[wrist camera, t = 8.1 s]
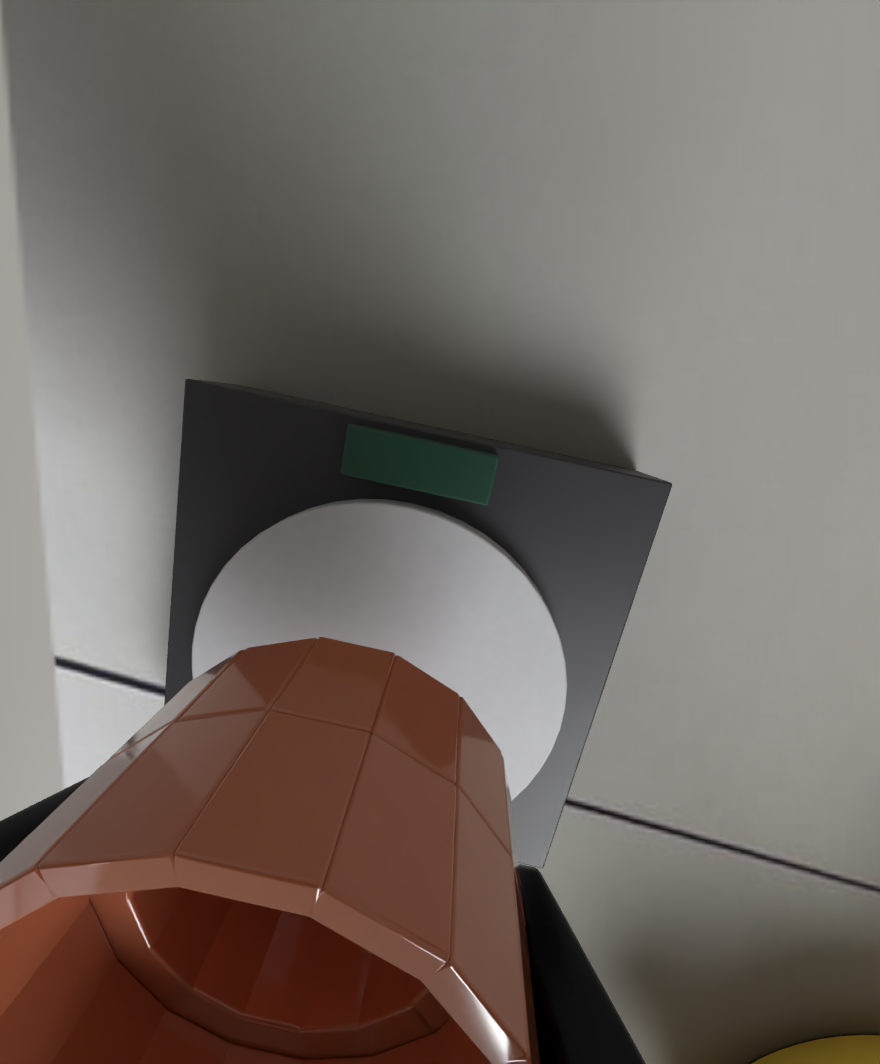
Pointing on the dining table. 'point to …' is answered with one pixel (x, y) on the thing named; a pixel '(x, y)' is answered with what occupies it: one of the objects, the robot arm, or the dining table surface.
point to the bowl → (277, 881)
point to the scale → (413, 565)
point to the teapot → (829, 1051)
